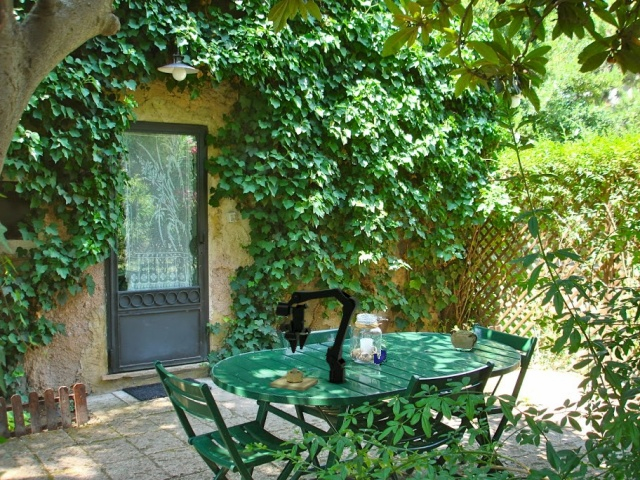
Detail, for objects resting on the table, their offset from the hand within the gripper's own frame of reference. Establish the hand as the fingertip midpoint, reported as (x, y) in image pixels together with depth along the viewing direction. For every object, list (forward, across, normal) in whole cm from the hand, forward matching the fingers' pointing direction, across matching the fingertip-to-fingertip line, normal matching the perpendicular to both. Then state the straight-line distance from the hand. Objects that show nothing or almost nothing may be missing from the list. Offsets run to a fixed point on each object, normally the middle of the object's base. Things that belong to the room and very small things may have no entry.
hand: (297, 351), depth 293 cm
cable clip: (+12, -46, +27) cm, 55 cm away
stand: (+12, +13, +4) cm, 18 cm away
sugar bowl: (+12, -99, +62) cm, 118 cm away
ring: (+10, +12, +4) cm, 17 cm away
